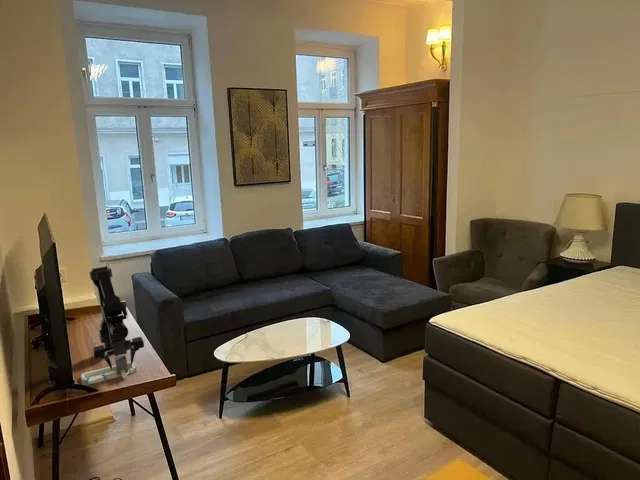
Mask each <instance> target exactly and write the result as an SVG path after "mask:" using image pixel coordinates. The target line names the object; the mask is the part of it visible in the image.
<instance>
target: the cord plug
mask: <svg viewBox="0 0 640 480" xmlns="http://www.w3.org/2000/svg"><path fill="white" fill-rule="evenodd" d="M114 361H115V365H116V368H117V374H118V375H119V374H122V376H121V378H122V379H125V378H126V377H127V375H126V374H125V373H127V372H128V367H127V362H128V361H127V356H126V354H122V355H118V356H114Z"/></svg>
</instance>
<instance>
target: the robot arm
mask: <svg viewBox="0 0 640 480" xmlns="http://www.w3.org/2000/svg"><path fill="white" fill-rule="evenodd" d="M112 278H113V271H112V268H111V267H109V268H108V266H100V267H95V268H92V269H91V271H89V279H90V281H92V283H93V285H94V286H95V287H96V288H97V292H98V293H97V294H98V299H99V300H98V301H99V305H100V312H101V317H102V320H101V322H100V324H99V328H100V329H99V330H98V337H99V341H100V343H101V344H102V345H97V346H94V347H93V349H92V350H93V357H94V359H100V360H104V361H105V362H106V363H107V365H108V367H110V368H111V369H112V366H113V365H112V362H111V358H110V355H113V356H114V357H118V356H123V355H127V353H128V351H129V352H130V354H129V358H130V362H131V364H132V363H133V361H134V359H135V355H136V352H137V351H139V350H140V349H142V348H145V342H144V340H143V337H141V336H138V337H134V338H131V339H128V340H127V339H126V338H127V337H128V335H129V329H128V327H127V326H126V324H125V323H124V320H126V319H128V318H127V317H128V311H127V309H126V304H124V302H123V301H121V297H120V296H118V295H116V293H115V291H114V286H113V284H112Z"/></svg>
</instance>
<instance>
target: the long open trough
mask: <svg viewBox="0 0 640 480" xmlns="http://www.w3.org/2000/svg"><path fill="white" fill-rule="evenodd" d="M127 367H128V372H127V373H125V374H126V376H127V375H131V374H136V373H137V367H136V364H135V361H134V360H133V363H132V364H131V361H127ZM80 375H81V385H85V386H89V385H91V384H96V383H100V382H103V381H104V382H106V381H108V380H112V379H115V378H120V377H122V374H119V375H118V374H117V368H116V364H115V365H112V369H111V368H110V366H106V367H102V368H100V369H99V368H98V369H94V370H90V371H85V372H82V373H80Z"/></svg>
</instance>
